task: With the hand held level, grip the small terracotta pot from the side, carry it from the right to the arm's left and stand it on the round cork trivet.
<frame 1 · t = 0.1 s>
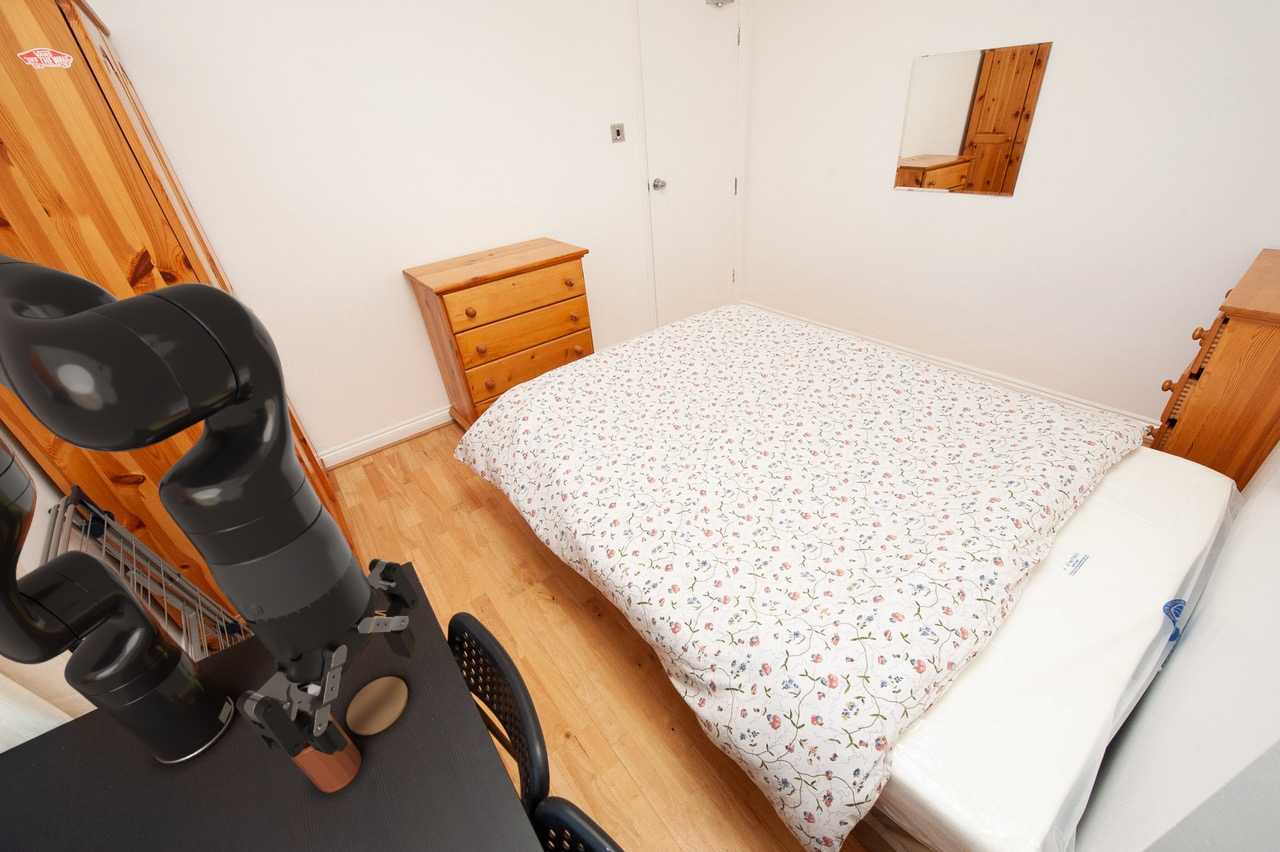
hand: (373, 696, 44), 29 cm above the table, tool pointing down, fingers open, 8 cm apart
trivet: (378, 705, 74), on the table
toy figure: (346, 639, 84), on the table
pot: (339, 769, 67), on the table
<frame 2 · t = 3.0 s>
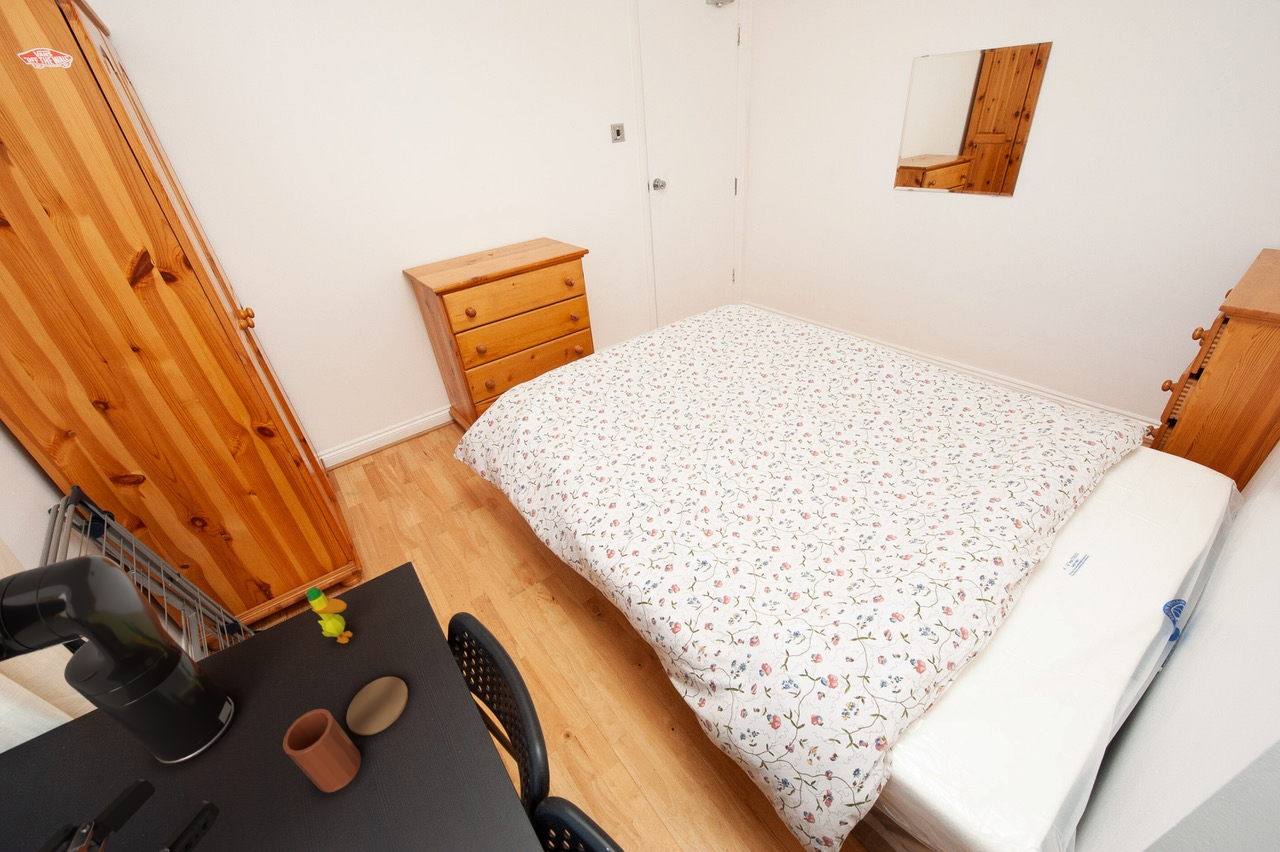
hand: (179, 793, 48), 19 cm above the table, tool horizontal, fingers open, 8 cm apart
nothing on the table moved.
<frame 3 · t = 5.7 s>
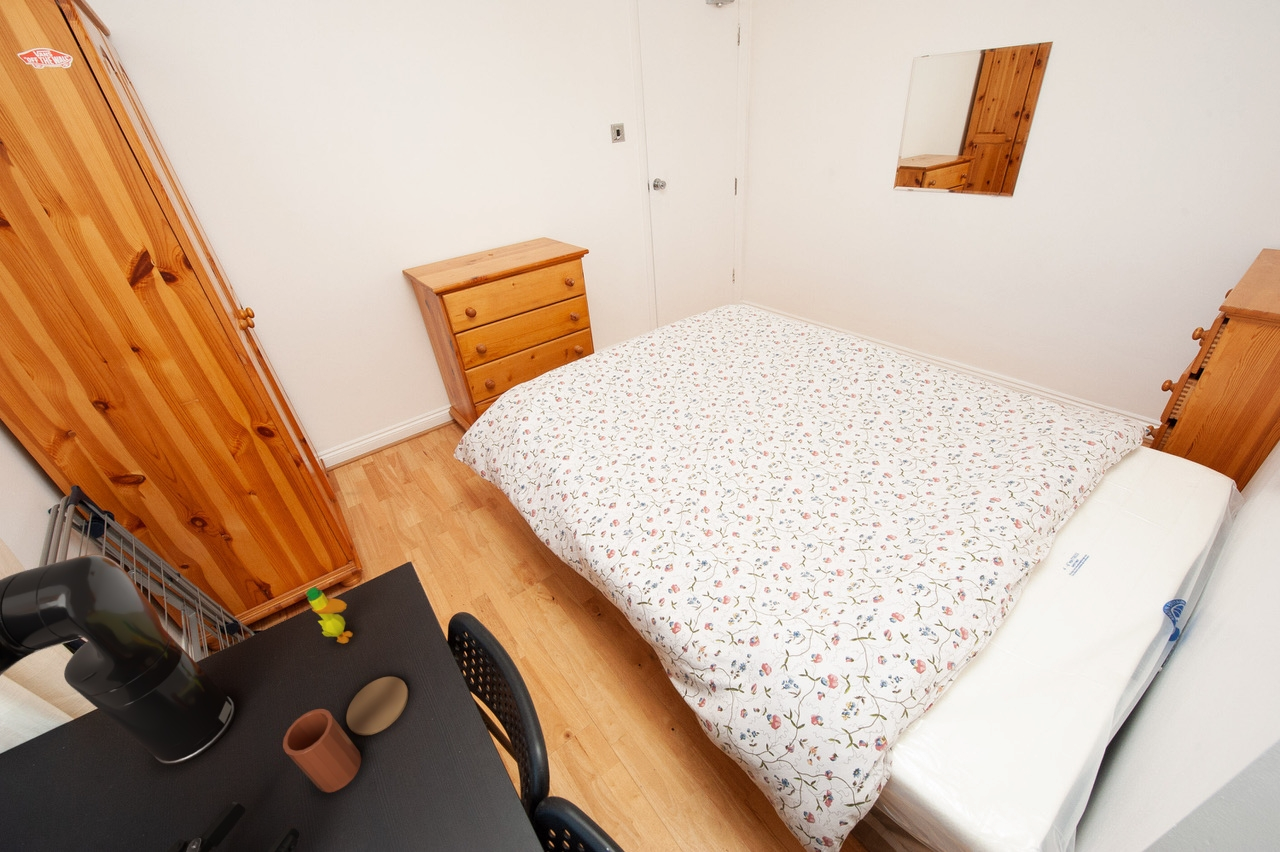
hand: (267, 816, 57), 6 cm above the table, tool horizontal, fingers open, 8 cm apart
nothing on the table moved.
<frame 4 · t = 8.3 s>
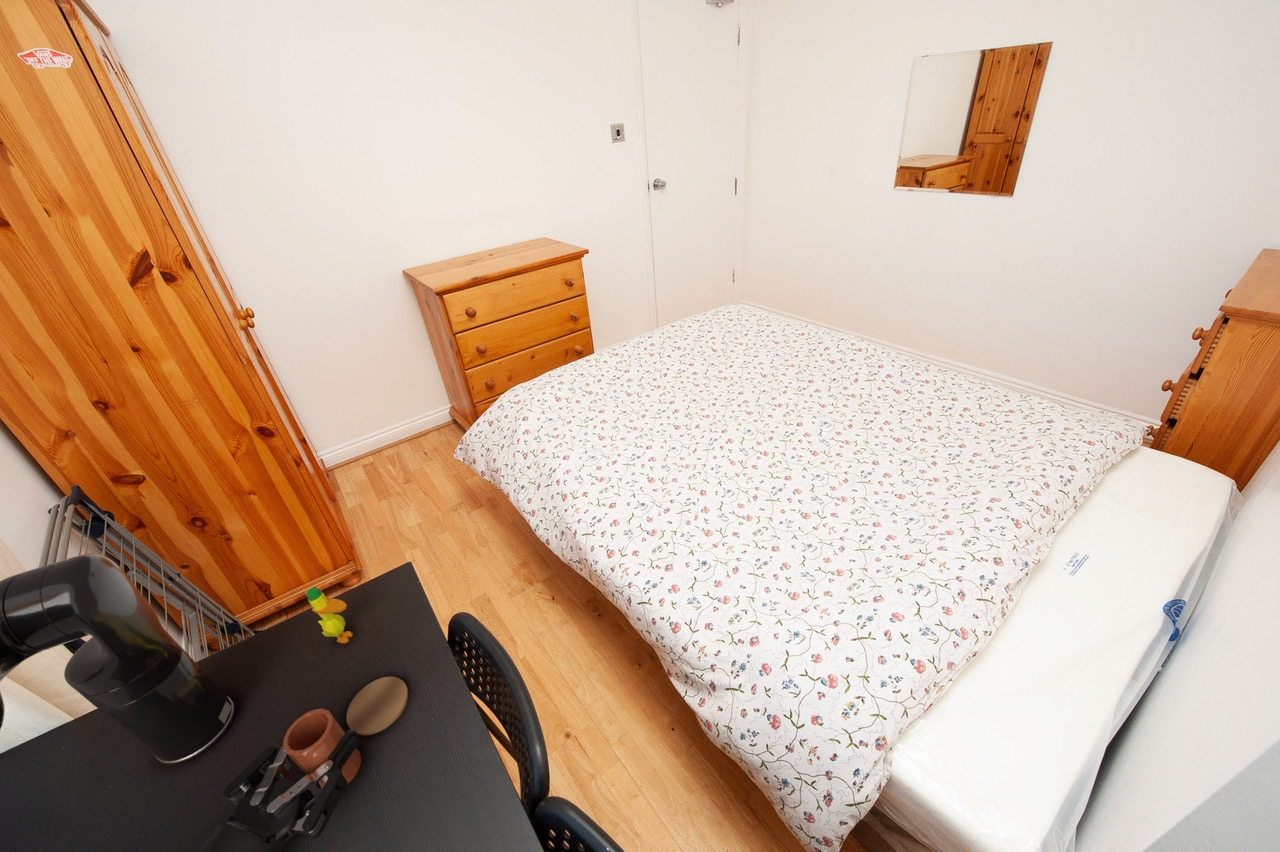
hand: (336, 727, 66), 6 cm above the table, tool horizontal, fingers closed on pot, 5 cm apart
pot: (339, 769, 67), on the table, touching gripper
everything else where it was.
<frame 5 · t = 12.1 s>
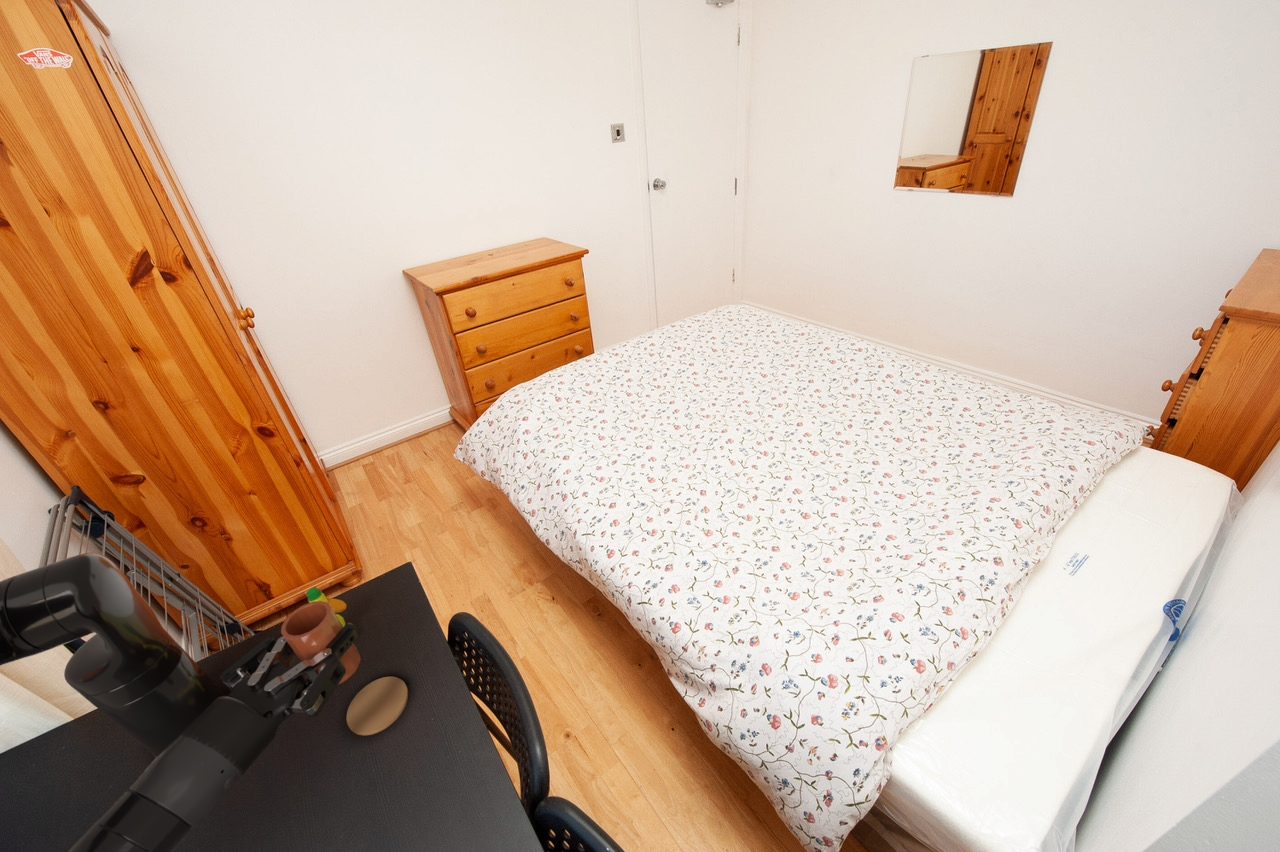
hand: (335, 622, 65), 18 cm above the table, tool horizontal, fingers closed on pot, 5 cm apart
pot: (338, 667, 66), point 12 cm above the table, touching gripper
everything else where it was.
when the fingers open (7 cm above the table, at t = 15.8 s): pot stays where it is, resting on trivet.
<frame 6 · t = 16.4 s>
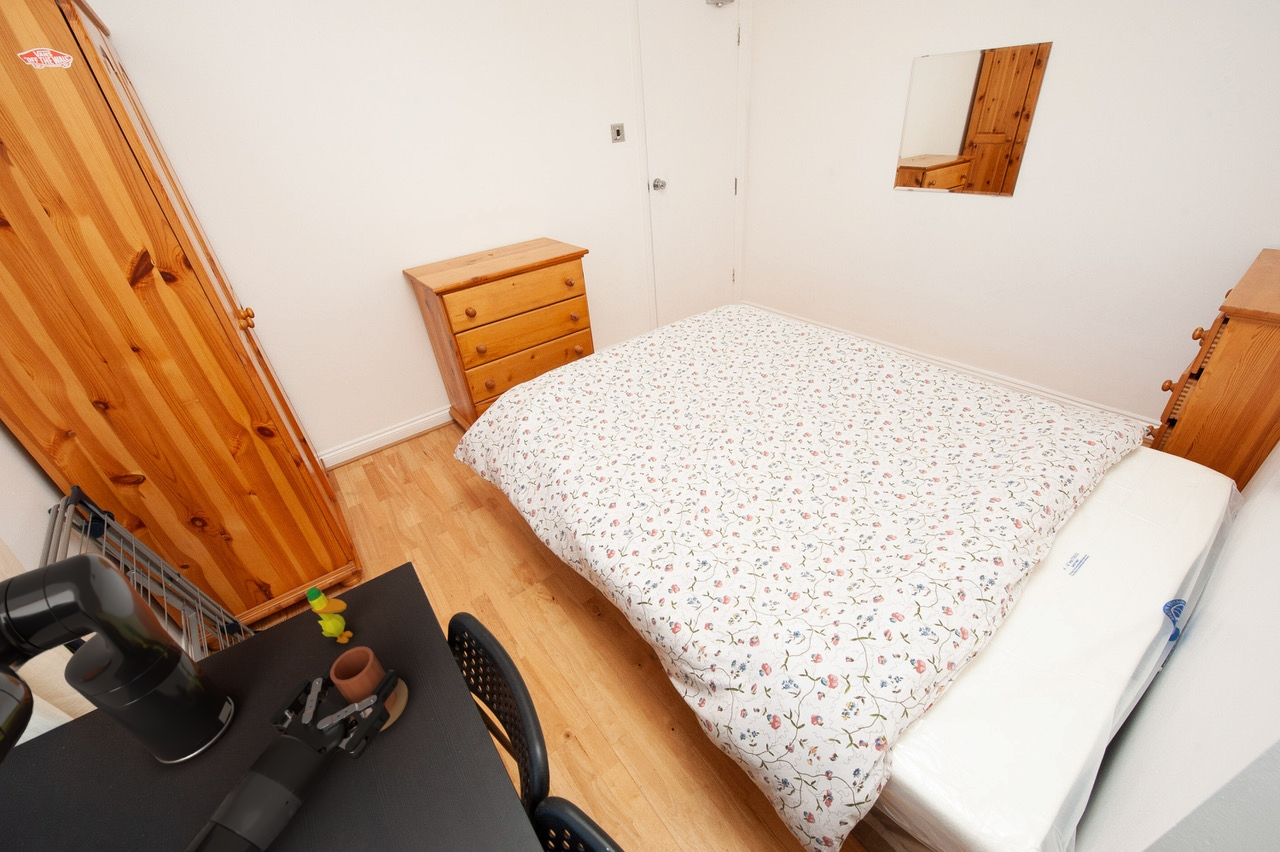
hand: (370, 666, 72), 7 cm above the table, tool horizontal, fingers open, 8 cm apart
pot: (377, 704, 73), point 1 cm above the table, touching trivet
everything else where it was.
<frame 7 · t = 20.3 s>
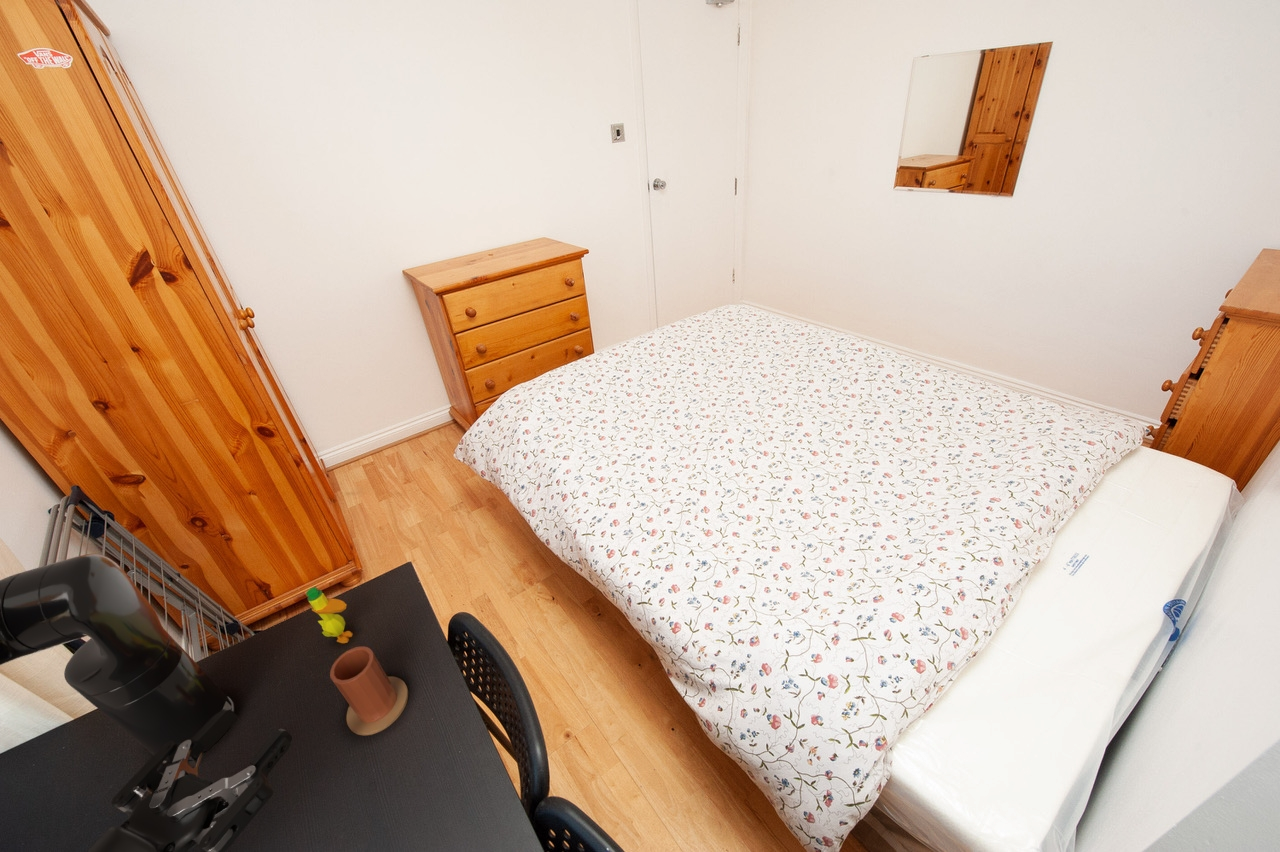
hand: (258, 722, 56), 16 cm above the table, tool horizontal, fingers open, 8 cm apart
nothing on the table moved.
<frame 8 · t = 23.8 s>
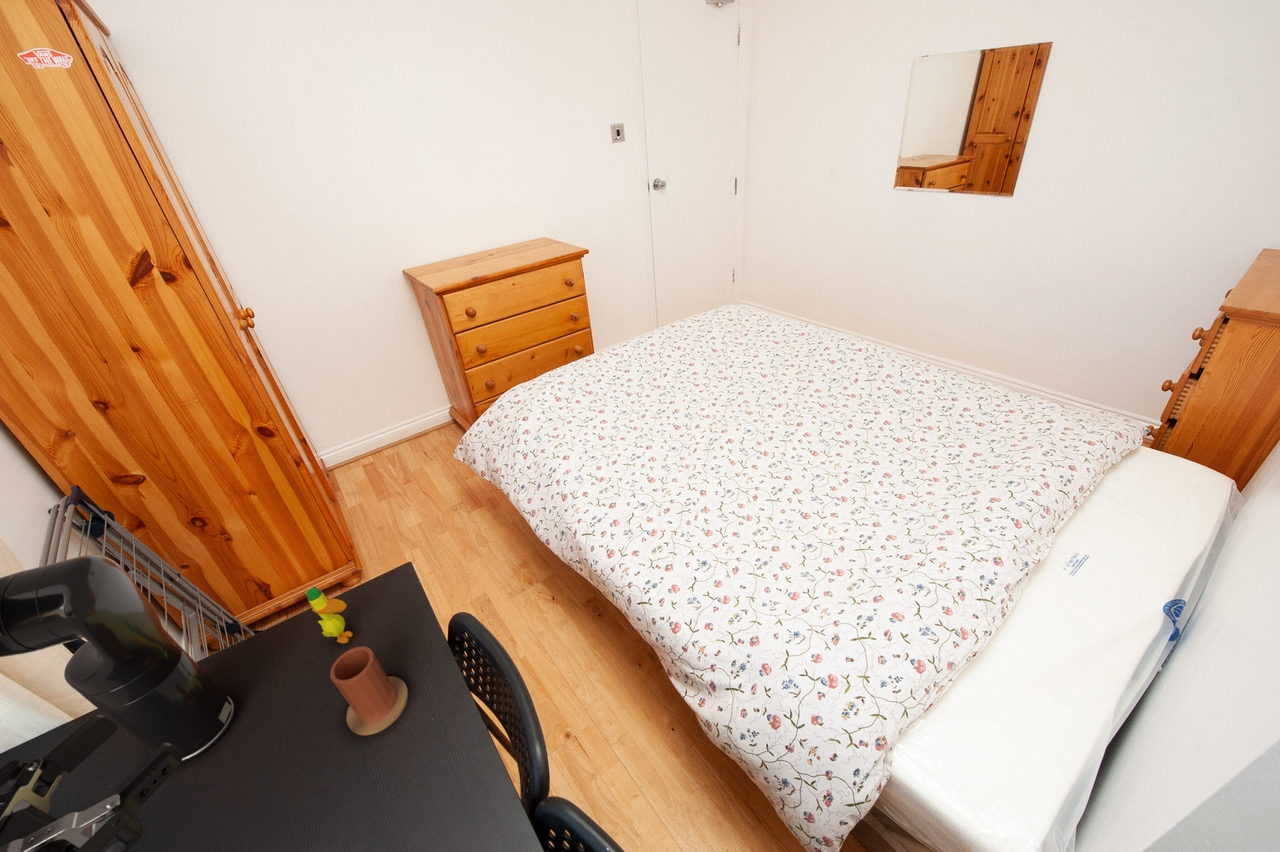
hand: (141, 733, 42), 30 cm above the table, tool horizontal, fingers open, 8 cm apart
nothing on the table moved.
at the end: pot 0.1 cm off-centre on the trivet, point 0.6 cm above the trivet's base; pot tilted 0°; the gripper is holding nothing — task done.
